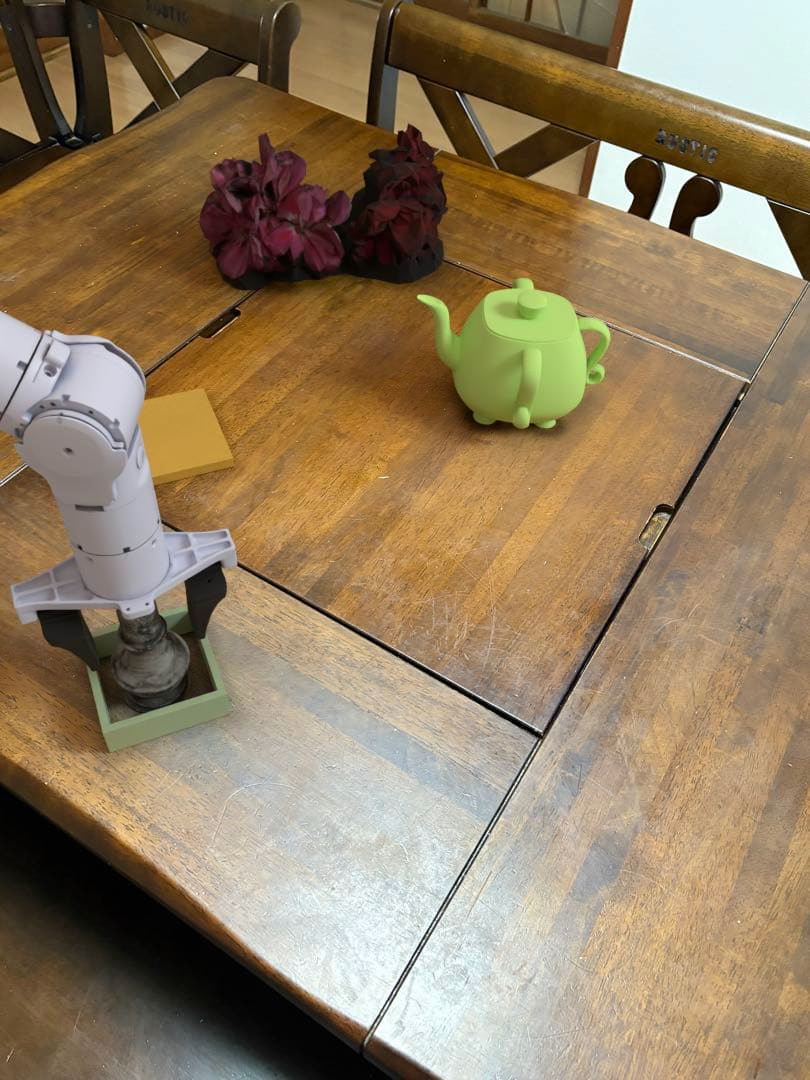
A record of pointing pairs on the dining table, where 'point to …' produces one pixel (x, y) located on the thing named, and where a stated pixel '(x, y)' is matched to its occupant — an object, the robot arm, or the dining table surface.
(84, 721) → the dining table surface
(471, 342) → the teapot
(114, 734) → the green square tray
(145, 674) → the chess piece
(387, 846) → the dining table surface
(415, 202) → the flower arrangement
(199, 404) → the control block
